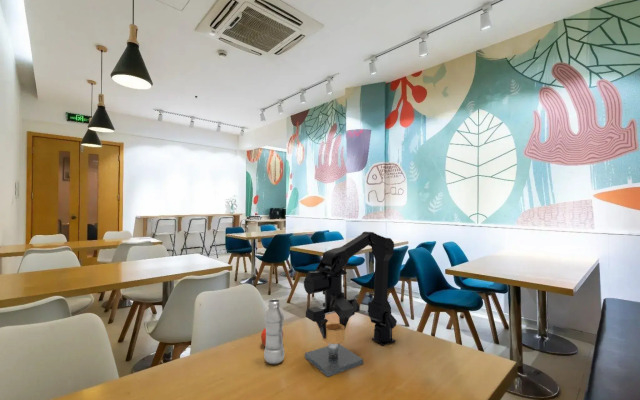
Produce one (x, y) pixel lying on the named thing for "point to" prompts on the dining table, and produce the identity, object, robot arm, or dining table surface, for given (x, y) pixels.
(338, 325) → the collar
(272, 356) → the plastic bottle
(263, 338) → the apple
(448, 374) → the dining table surface
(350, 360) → the piston stand
